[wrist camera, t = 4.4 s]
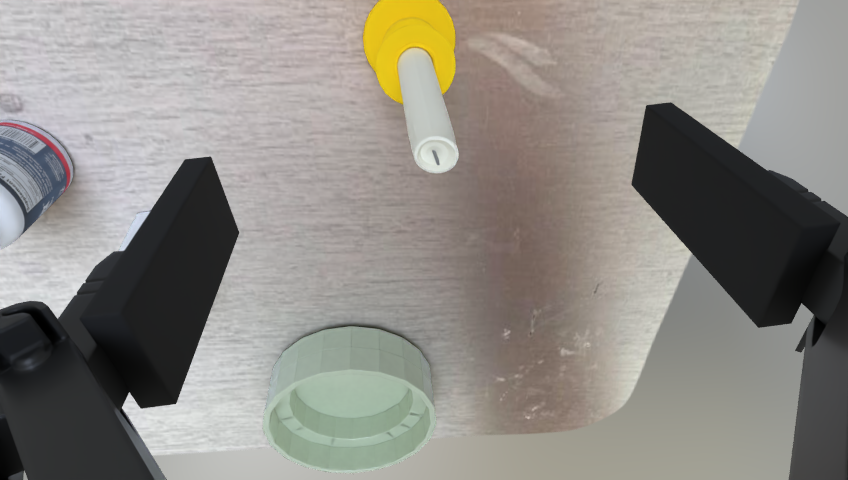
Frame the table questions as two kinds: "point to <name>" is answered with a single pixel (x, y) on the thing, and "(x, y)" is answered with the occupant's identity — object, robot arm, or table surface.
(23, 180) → the pill bottle
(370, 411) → the bowl
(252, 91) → the table surface
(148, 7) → the table surface
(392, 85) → the candle
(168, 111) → the table surface
